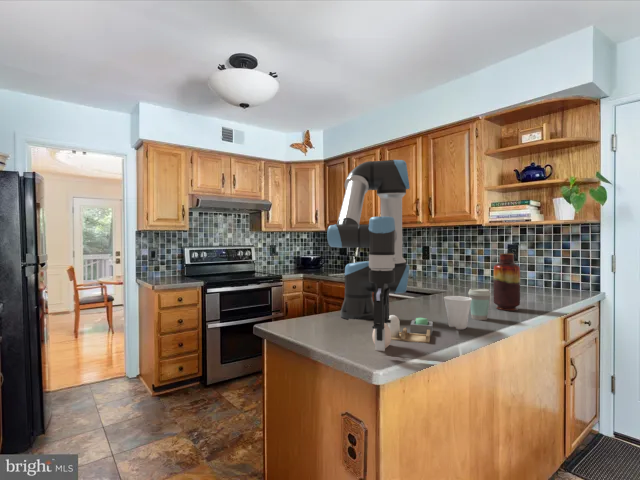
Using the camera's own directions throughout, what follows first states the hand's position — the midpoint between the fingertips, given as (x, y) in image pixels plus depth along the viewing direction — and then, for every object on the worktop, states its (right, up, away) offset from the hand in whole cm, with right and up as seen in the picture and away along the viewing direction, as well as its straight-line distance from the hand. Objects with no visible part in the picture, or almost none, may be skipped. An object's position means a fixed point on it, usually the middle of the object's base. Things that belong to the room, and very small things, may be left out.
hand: (381, 347), depth 105 cm
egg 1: (0, -1, 0) cm, 1 cm away
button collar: (+17, -1, +18) cm, 24 cm away
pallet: (+9, -1, +11) cm, 14 cm away
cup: (+33, -1, +27) cm, 43 cm away
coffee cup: (+48, -1, +42) cm, 64 cm away
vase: (+69, -1, +62) cm, 93 cm away
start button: (+17, 0, +18) cm, 24 cm away
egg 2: (+6, 0, +12) cm, 13 cm away
